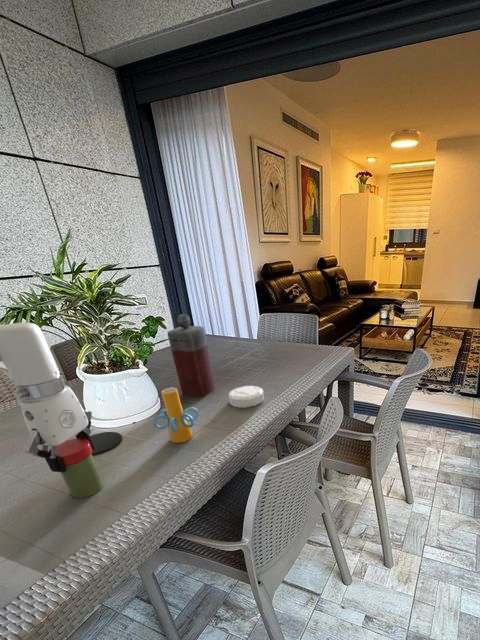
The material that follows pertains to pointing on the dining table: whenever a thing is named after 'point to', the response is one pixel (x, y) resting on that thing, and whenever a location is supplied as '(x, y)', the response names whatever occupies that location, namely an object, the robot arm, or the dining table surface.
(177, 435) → the cylinder
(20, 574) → the dining table surface
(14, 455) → the dining table surface
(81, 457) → the jar lid
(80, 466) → the jar
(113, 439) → the coaster
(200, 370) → the red square decanter
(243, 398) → the mooncake
